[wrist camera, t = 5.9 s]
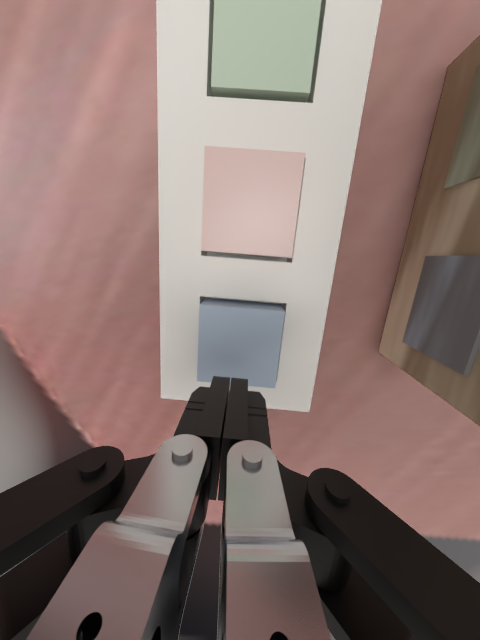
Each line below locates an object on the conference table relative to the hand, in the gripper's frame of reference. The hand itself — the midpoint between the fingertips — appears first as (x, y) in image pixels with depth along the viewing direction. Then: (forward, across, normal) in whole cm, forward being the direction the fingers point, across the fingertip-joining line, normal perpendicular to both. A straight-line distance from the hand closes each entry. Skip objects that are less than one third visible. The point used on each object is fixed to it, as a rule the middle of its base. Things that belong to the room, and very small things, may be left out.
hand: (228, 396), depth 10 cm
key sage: (+10, 0, -18) cm, 20 cm away
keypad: (+10, 0, -9) cm, 14 cm away
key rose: (+9, 0, -9) cm, 12 cm away
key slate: (+9, 0, 0) cm, 9 cm away
